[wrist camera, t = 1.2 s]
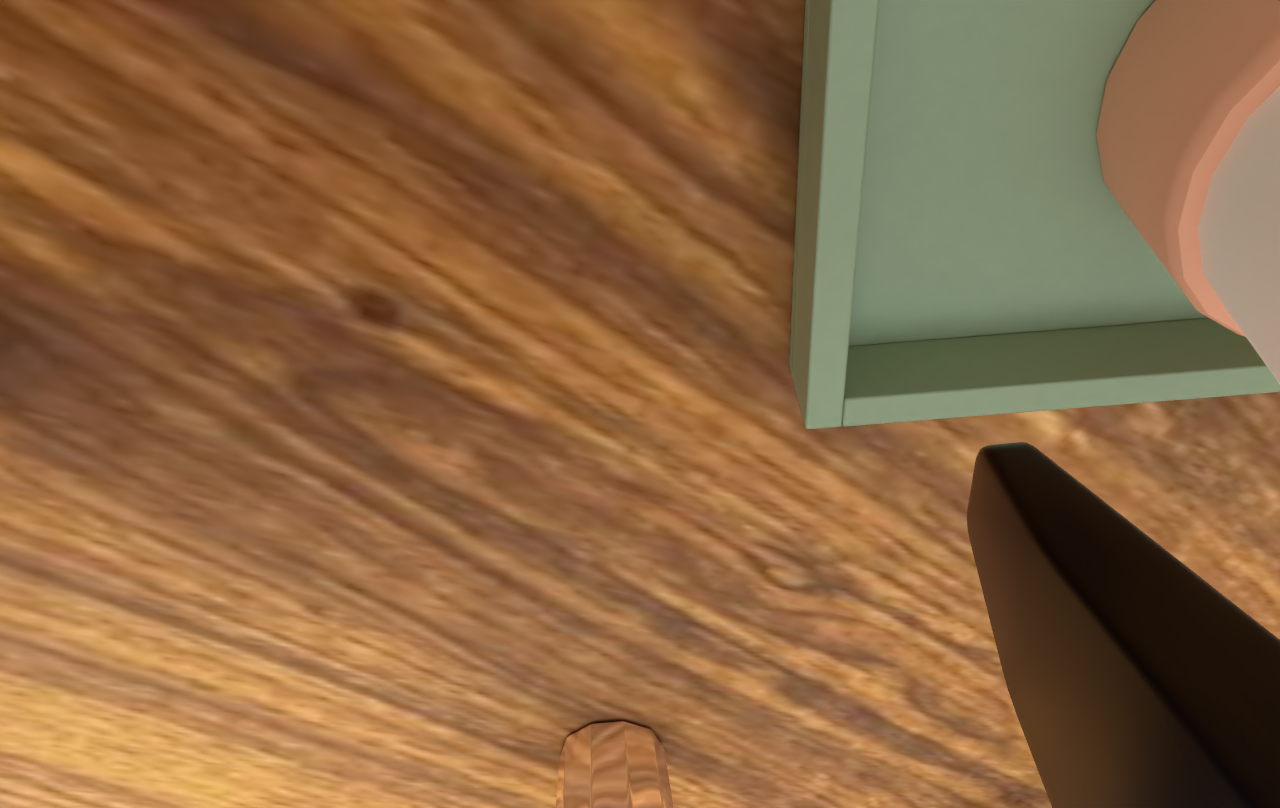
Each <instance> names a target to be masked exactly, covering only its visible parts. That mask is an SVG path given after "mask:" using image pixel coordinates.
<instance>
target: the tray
mask: <svg viewBox="0 0 1280 808" xmlns="http://www.w3.org/2000/svg"><path fill="white" fill-rule="evenodd" d="M1155 1H1156V0H806V2H805V24H804V46H803V68H802V90H801V113H800V135H799V157H798V179H797V201H796V224H795V246H794V268H793V290H792V312H791V335H790V357H789V368H790V372H791V375H792V379H793V383H794V387H795V390H796V394H797V398H798V402H799V406H800V410H801V414H802V418H803V422H804V426H805V428H806V429H817V428H830V427H840V426H841V424H842V425H843V426H856V425H869V424H881V423H894V422H906V421H919V420H932V419H944V418H957V417H969V416H982V415H994V414H1007V413H1019V412H1032V411H1045V410H1057V409H1070V408H1082V407H1095V406H1107V405H1120V404H1132V403H1145V402H1157V401H1170V400H1183V399H1195V398H1208V397H1220V396H1233V395H1245V394H1258V393H1270V392H1280V384H1279V383H1278V382H1277V380H1276V379H1275V377H1274V376H1273V374H1272V373H1271V372H1270V370H1269V369H1268V367H1267V366H1266V365H1265V363H1264V362H1263V360H1262V359H1261V357H1260V356H1259V355H1258V353H1257V352H1256V350H1255V349H1254V348H1253V346H1252V345H1251V343H1250V342H1249V340H1248V339H1247V338H1246V337H1244V336H1241V335H1238V334H1236V333H1234V332H1233V331H1231V330H1229V329H1227V328H1226V327H1224V326H1222V325H1221V324H1219V323H1217V322H1215V321H1214V320H1212V319H1210V318H1208V317H1207V316H1205V315H1203V314H1202V313H1200V312H1198V311H1197V310H1196V309H1195V307H1194V306H1193V305H1192V303H1191V302H1190V301H1189V299H1188V298H1187V297H1186V295H1185V294H1184V292H1183V291H1182V290H1181V288H1180V287H1179V286H1178V284H1177V283H1176V282H1175V280H1174V279H1173V278H1172V276H1171V275H1170V274H1169V272H1168V271H1167V269H1166V268H1165V267H1164V265H1163V264H1162V263H1161V261H1160V260H1159V259H1158V257H1157V256H1156V255H1155V253H1154V252H1153V250H1152V249H1151V248H1150V246H1149V245H1148V244H1147V242H1146V241H1145V240H1144V238H1143V237H1142V236H1141V234H1140V233H1139V231H1138V230H1137V229H1136V227H1135V226H1134V225H1133V223H1132V222H1131V221H1130V219H1129V218H1128V216H1127V215H1126V213H1125V212H1124V211H1123V209H1122V208H1121V206H1120V205H1119V203H1118V202H1117V200H1116V199H1115V197H1114V196H1113V194H1112V193H1111V191H1110V190H1109V188H1108V187H1107V185H1106V184H1105V182H1104V179H1103V173H1102V167H1101V161H1100V155H1099V149H1098V143H1097V137H1096V132H1097V127H1098V122H1099V117H1100V112H1101V107H1102V102H1103V97H1104V92H1105V87H1106V82H1107V78H1108V76H1109V74H1110V73H1111V71H1112V69H1113V67H1114V65H1115V63H1116V61H1117V59H1118V57H1119V55H1120V53H1121V52H1122V50H1123V48H1124V46H1125V44H1126V42H1127V40H1128V38H1129V36H1130V34H1131V32H1132V30H1133V29H1134V27H1135V25H1136V23H1137V21H1138V20H1139V19H1140V18H1141V16H1142V15H1143V14H1144V13H1145V12H1146V11H1147V10H1148V8H1149V7H1150V6H1151V5H1152V4H1153V3H1154V2H1155Z"/></svg>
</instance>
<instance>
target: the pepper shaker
mask: <svg viewBox="0 0 1280 808" xmlns="http://www.w3.org/2000/svg"><path fill="white" fill-rule="evenodd" d="M1096 137H1097V143H1098V149H1099V155H1100V161H1101V167H1102V173H1103V179H1104V182H1105V184H1106V185H1107V187H1108V188H1109V190H1110V191H1111V193H1112V194H1113V196H1114V197H1115V199H1116V200H1117V202H1118V203H1119V205H1120V206H1121V208H1122V209H1123V211H1124V212H1125V213H1126V215H1127V216H1128V218H1129V219H1130V221H1131V222H1132V223H1133V225H1134V226H1135V227H1136V229H1137V230H1138V231H1139V233H1140V234H1141V236H1142V237H1143V238H1144V240H1145V241H1146V242H1147V244H1148V245H1149V246H1150V248H1151V249H1152V250H1153V252H1154V253H1155V255H1156V256H1157V257H1158V259H1159V260H1160V261H1161V263H1162V264H1163V265H1164V267H1165V268H1166V269H1167V271H1168V272H1169V274H1170V275H1171V276H1172V278H1173V279H1174V280H1175V282H1176V283H1177V284H1178V286H1179V287H1180V288H1181V290H1182V291H1183V292H1184V294H1185V295H1186V297H1187V298H1188V299H1189V301H1190V302H1191V303H1192V305H1193V306H1194V307H1195V309H1196V310H1197V311H1198V312H1200V313H1202V314H1203V315H1205V316H1207V317H1208V318H1210V319H1212V320H1214V321H1215V322H1217V323H1219V324H1221V325H1222V326H1224V327H1226V328H1227V329H1229V330H1231V331H1233V332H1234V333H1236V334H1238V335H1241V336H1244V337H1246V338H1247V339H1248V340H1249V342H1250V343H1251V345H1252V346H1253V348H1254V349H1255V350H1256V352H1257V353H1258V355H1259V356H1260V357H1261V359H1262V360H1263V362H1264V363H1265V365H1266V366H1267V367H1268V369H1269V370H1270V372H1271V373H1272V374H1273V376H1274V377H1275V379H1276V380H1277V382H1278V383H1279V384H1280V0H1156V1H1155V2H1154V3H1153V4H1152V5H1151V6H1150V7H1149V8H1148V10H1147V11H1146V12H1145V13H1144V14H1143V15H1142V16H1141V18H1140V19H1139V20H1138V21H1137V23H1136V25H1135V27H1134V29H1133V30H1132V32H1131V34H1130V36H1129V38H1128V40H1127V42H1126V44H1125V46H1124V48H1123V50H1122V52H1121V53H1120V55H1119V57H1118V59H1117V61H1116V63H1115V65H1114V67H1113V69H1112V71H1111V73H1110V74H1109V76H1108V78H1107V82H1106V87H1105V92H1104V97H1103V102H1102V107H1101V112H1100V117H1099V122H1098V127H1097V132H1096Z"/></svg>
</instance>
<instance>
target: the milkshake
mask: <svg viewBox="0 0 1280 808" xmlns="http://www.w3.org/2000/svg"><path fill="white" fill-rule="evenodd" d="M556 808H674V806H673V800H672V794H671V789H670V783H669V777H668V771H667V765H666V759H665V753H664V748H663V746H662V744H661V743H660V741H659V740H658V739H657V737H656V736H655V734H654V733H653V732H652V730H651V729H648V728H644V727H641V726H638V725H635V724H632V723H628V722H625V721H619V722H608V723H596V724H590V725H589V726H587V727H585V728H583V729H581V730H579V731H577V732H575V733H574V734H572V735H570V736H568V737H567V738H566V741H565V744H564V746H563V749H562V752H561V754H560V759H559V771H558V785H557V799H556Z"/></svg>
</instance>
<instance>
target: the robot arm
mask: <svg viewBox="0 0 1280 808" xmlns="http://www.w3.org/2000/svg"><path fill="white" fill-rule="evenodd" d="M967 526H968V533H969V538H970V542H971V546H972V550H973V554H974V558H975V562H976V566H977V570H978V574H979V578H980V582H981V586H982V590H983V594H984V598H985V602H986V606H987V610H988V614H989V618H990V622H991V626H992V630H993V634H994V638H995V642H996V646H997V650H998V654H999V658H1000V662H1001V666H1002V669H1003V673H1004V677H1005V680H1006V684H1007V688H1008V691H1009V694H1010V697H1011V699H1012V702H1013V705H1014V708H1015V711H1016V714H1017V716H1018V719H1019V722H1020V724H1021V727H1022V730H1023V732H1024V735H1025V737H1026V740H1027V743H1028V745H1029V748H1030V750H1031V753H1032V756H1033V758H1034V761H1035V763H1036V766H1037V769H1038V771H1039V774H1040V776H1041V779H1042V782H1043V784H1044V787H1045V790H1046V792H1047V795H1048V797H1049V800H1050V803H1051V805H1052V808H1280V640H1279V639H1278V638H1277V637H1275V636H1274V635H1273V634H1271V633H1270V632H1269V631H1268V630H1266V629H1265V628H1264V627H1263V626H1261V625H1260V624H1259V623H1258V622H1256V621H1255V620H1254V619H1252V618H1251V617H1250V616H1249V615H1247V614H1246V613H1245V612H1244V611H1242V610H1241V609H1240V608H1238V607H1237V606H1236V605H1235V604H1233V603H1232V602H1231V601H1230V600H1228V599H1227V598H1226V597H1225V596H1223V595H1222V594H1221V593H1219V592H1218V591H1217V590H1216V589H1214V588H1213V587H1212V586H1211V585H1209V584H1208V583H1207V582H1205V581H1204V580H1203V579H1202V578H1200V577H1199V576H1198V575H1197V574H1195V573H1194V572H1193V571H1191V570H1190V569H1189V568H1188V567H1186V566H1185V565H1184V564H1183V563H1181V562H1180V561H1179V560H1178V559H1176V558H1175V557H1174V556H1172V555H1171V554H1170V553H1169V552H1167V551H1166V550H1165V549H1164V548H1162V547H1161V546H1160V545H1158V544H1157V543H1156V542H1155V541H1153V540H1152V539H1151V538H1150V537H1148V536H1147V535H1146V534H1145V533H1143V532H1142V531H1141V530H1139V529H1138V528H1137V527H1136V526H1134V525H1133V524H1132V523H1131V522H1129V521H1128V520H1127V519H1125V518H1124V517H1123V516H1122V515H1120V514H1119V513H1118V512H1117V511H1115V510H1114V509H1113V508H1111V507H1110V506H1109V505H1108V504H1106V503H1105V502H1104V501H1103V500H1101V499H1100V498H1099V497H1098V496H1096V495H1095V494H1094V493H1092V492H1091V491H1090V490H1089V489H1087V488H1086V487H1085V486H1084V485H1082V484H1081V483H1080V482H1078V481H1077V480H1076V479H1075V478H1073V477H1072V476H1071V475H1070V474H1068V473H1067V472H1066V471H1065V470H1063V469H1062V468H1061V467H1059V466H1058V465H1057V464H1056V463H1054V462H1053V461H1052V460H1051V459H1049V458H1048V457H1047V456H1045V455H1044V454H1043V453H1042V452H1040V451H1039V450H1038V449H1037V448H1035V447H1034V446H1032V445H1030V444H1028V443H1023V442H1019V443H1009V444H999V445H989V446H986V447H983V448H982V449H981V450H980V451H979V453H978V455H977V457H976V462H975V468H974V474H973V480H972V486H971V491H970V497H969V503H968V510H967Z"/></svg>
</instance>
